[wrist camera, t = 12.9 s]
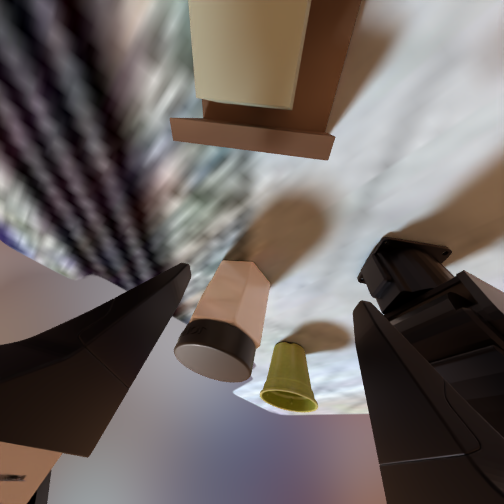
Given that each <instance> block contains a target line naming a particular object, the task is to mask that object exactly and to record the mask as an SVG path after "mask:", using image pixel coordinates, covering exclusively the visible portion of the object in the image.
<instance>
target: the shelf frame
mask: <svg viewBox="0 0 504 504" xmlns="http://www.w3.org/2000/svg"><path fill="white" fill-rule="evenodd" d="M360 3H361V0H311V5H310V11H309V17H308V22H307V28H306V34H305V40H304V45H303V51H302V57H301V63H300V68H299V74H298V80H297V86H296V91H295V97H294V103H293V109H292V111H291V110H281V109H271V108H261V107H251V106H242V105H232V104H223V103H218V102H214V101H209V100H205V99H202V105H203V118H170V123H171V129H172V136H173V141H181V142H189V143H197V144H204V145H212V146H220V147H227V148H235V149H243V150H251V151H258V152H266V153H274V154H281V155H289V156H297V157H305V158H312V159H320V160H328V159H329V156H330V153H331V149H332V146H333V143H334V140H335V136H332V135H330V134H328V133H326V132H325V129H326V126H327V122H328V118H329V115H330V111H331V108H332V104H333V100H334V97H335V93H336V90H337V86H338V82H339V79H340V75H341V72H342V68H343V64H344V61H345V57H346V54H347V50H348V46H349V43H350V39H351V36H352V32H353V28H354V25H355V21H356V18H357V14H358V10H359V7H360Z"/></svg>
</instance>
